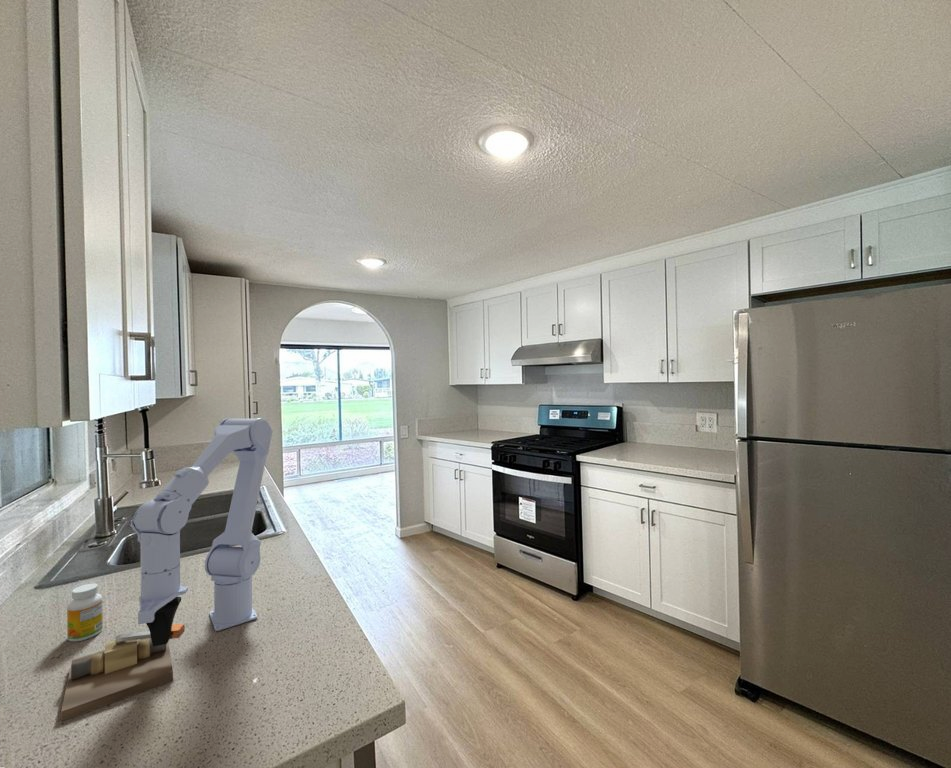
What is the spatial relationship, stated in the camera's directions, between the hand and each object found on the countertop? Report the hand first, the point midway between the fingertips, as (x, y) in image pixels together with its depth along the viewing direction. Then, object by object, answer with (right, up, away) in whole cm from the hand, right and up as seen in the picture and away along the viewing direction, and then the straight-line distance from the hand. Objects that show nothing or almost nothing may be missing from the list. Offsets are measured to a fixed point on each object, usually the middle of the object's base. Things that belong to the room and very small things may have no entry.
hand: (161, 643), depth 77 cm
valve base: (-7, -5, 0) cm, 9 cm away
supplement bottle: (-25, -6, +12) cm, 28 cm away
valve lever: (-3, 0, +1) cm, 3 cm away
